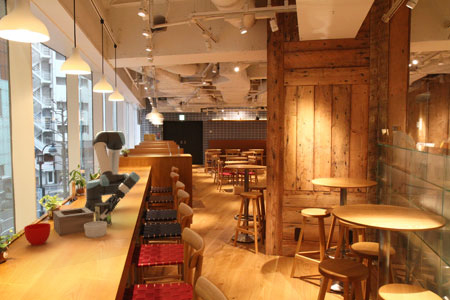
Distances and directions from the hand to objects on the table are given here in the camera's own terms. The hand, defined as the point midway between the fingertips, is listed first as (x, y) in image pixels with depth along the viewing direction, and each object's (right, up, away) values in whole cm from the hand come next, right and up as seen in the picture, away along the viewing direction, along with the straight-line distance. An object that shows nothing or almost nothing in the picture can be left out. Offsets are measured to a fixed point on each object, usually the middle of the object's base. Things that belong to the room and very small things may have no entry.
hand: (99, 216), depth 235 cm
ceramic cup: (-21, -8, -36) cm, 43 cm away
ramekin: (+6, -7, -23) cm, 25 cm away
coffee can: (+2, -6, +2) cm, 7 cm away
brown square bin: (-13, -7, -10) cm, 17 cm away
